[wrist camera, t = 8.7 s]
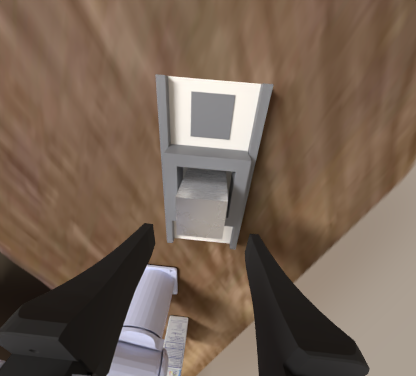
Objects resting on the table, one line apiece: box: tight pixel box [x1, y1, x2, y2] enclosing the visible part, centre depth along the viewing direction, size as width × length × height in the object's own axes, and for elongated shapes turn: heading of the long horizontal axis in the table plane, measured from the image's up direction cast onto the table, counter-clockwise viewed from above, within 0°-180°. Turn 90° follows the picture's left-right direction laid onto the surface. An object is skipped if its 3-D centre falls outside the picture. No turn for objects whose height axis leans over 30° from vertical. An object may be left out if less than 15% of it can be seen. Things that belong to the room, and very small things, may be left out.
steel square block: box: [175, 167, 228, 239], centre depth 17 cm, size 4×4×7 cm
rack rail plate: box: [156, 75, 273, 249], centre depth 19 cm, size 10×20×4 cm, turn 176°
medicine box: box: [163, 315, 188, 376], centre depth 37 cm, size 8×4×9 cm, turn 173°
